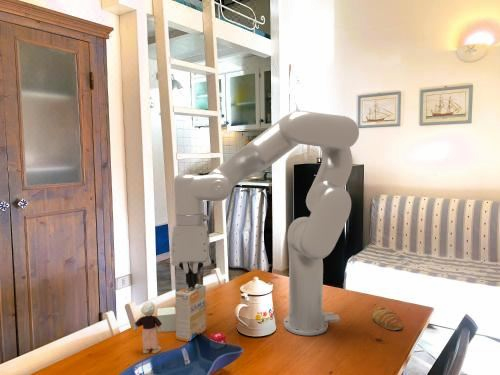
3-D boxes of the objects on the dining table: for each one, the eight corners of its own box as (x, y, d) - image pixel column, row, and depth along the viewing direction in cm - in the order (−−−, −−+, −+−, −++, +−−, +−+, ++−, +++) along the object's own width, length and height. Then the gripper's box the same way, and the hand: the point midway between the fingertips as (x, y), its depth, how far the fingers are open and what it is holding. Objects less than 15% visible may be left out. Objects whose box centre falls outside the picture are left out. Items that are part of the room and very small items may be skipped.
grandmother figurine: (165, 345, 98) (164, 298, 96) (164, 353, 94) (163, 304, 93) (135, 347, 96) (133, 300, 95) (132, 355, 93) (130, 306, 92)
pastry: (408, 330, 105) (409, 317, 105) (387, 333, 104) (387, 320, 104) (389, 316, 115) (389, 304, 114) (369, 319, 113) (369, 307, 113)
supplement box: (190, 343, 99) (189, 295, 98) (175, 339, 101) (174, 292, 100) (207, 330, 106) (206, 285, 105) (192, 326, 108) (192, 282, 107)
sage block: (175, 323, 111) (175, 306, 110) (175, 330, 106) (175, 313, 105) (158, 324, 110) (157, 308, 109) (157, 332, 105) (157, 315, 104)
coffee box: (186, 301, 127) (185, 255, 125) (204, 303, 125) (203, 256, 124) (175, 313, 118) (174, 263, 116) (194, 314, 116) (193, 264, 115)
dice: (216, 350, 95) (215, 339, 95) (209, 345, 98) (209, 334, 97) (225, 346, 97) (225, 335, 97) (219, 342, 99) (219, 331, 99)
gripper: (219, 217, 104) (221, 281, 106) (165, 218, 105) (168, 281, 106) (215, 222, 97) (217, 291, 98) (158, 222, 97) (161, 291, 99)
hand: (192, 286), depth 102 cm, fingers closed
